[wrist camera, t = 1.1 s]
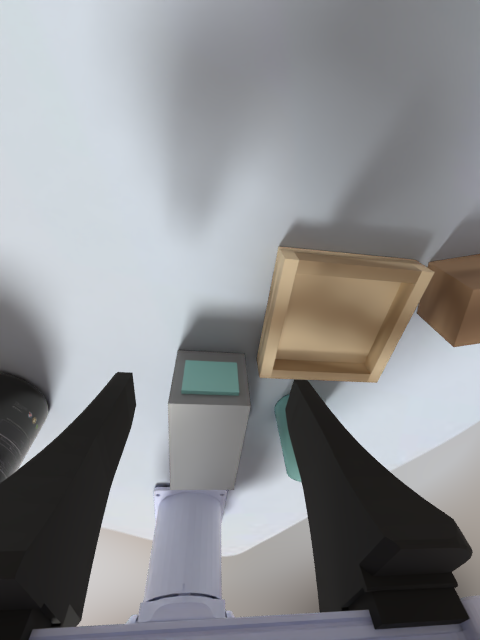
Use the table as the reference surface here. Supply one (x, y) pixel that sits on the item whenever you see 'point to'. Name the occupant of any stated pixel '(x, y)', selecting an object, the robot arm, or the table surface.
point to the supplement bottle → (18, 421)
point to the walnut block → (454, 300)
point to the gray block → (207, 419)
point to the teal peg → (286, 439)
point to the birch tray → (337, 314)
